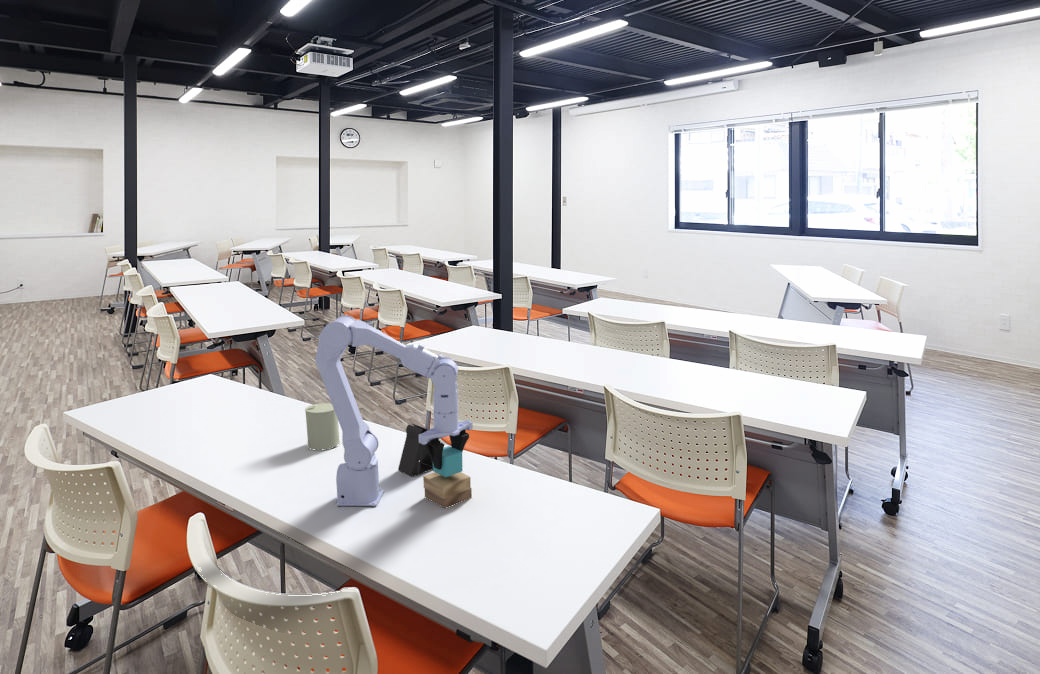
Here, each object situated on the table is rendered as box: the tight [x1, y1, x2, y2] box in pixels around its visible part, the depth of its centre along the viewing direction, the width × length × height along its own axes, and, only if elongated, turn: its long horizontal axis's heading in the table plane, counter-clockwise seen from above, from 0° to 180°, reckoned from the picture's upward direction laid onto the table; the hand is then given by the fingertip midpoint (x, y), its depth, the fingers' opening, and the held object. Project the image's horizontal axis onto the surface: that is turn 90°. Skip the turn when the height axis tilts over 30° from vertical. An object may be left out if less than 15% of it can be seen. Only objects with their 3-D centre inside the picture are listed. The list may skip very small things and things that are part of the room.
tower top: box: [422, 471, 472, 499], centre depth 148 cm, size 8×8×3 cm
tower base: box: [424, 487, 473, 509], centre depth 149 cm, size 8×8×3 cm
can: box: [304, 402, 341, 451], centre depth 182 cm, size 9×9×12 cm
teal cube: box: [432, 445, 463, 477], centre depth 147 cm, size 5×5×5 cm
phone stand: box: [397, 423, 433, 477], centre depth 165 cm, size 9×6×12 cm, turn 135°
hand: (447, 464), depth 147 cm, fingers closed on teal cube, 5 cm apart
